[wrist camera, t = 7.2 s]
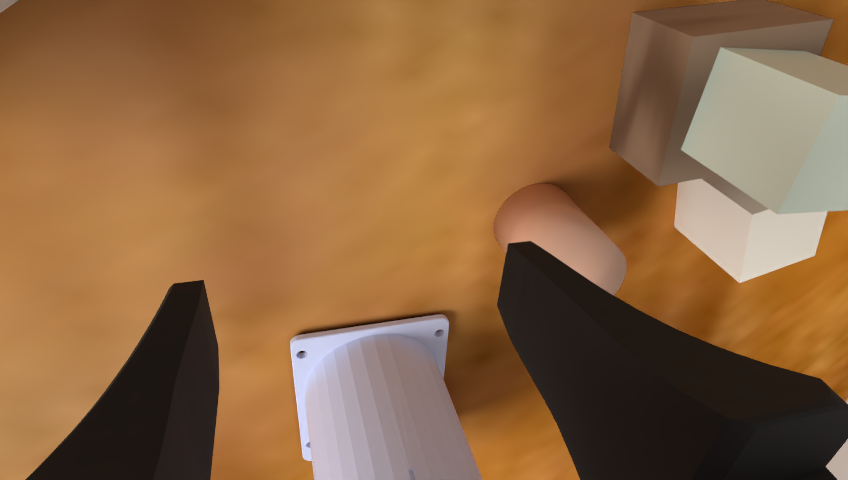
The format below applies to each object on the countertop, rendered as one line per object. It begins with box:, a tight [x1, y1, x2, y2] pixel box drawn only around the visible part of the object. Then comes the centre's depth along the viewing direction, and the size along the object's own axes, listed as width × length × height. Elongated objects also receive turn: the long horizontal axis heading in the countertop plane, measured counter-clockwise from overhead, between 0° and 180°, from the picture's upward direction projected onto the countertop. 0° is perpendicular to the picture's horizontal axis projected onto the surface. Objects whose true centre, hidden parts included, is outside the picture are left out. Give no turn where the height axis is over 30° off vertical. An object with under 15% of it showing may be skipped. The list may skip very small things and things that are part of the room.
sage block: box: [681, 47, 848, 214], centre depth 20 cm, size 4×4×5 cm
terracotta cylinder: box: [494, 183, 627, 295], centre depth 25 cm, size 4×4×5 cm
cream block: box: [674, 175, 827, 283], centre depth 27 cm, size 4×4×5 cm
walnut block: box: [609, 0, 834, 186], centre depth 24 cm, size 6×6×4 cm
